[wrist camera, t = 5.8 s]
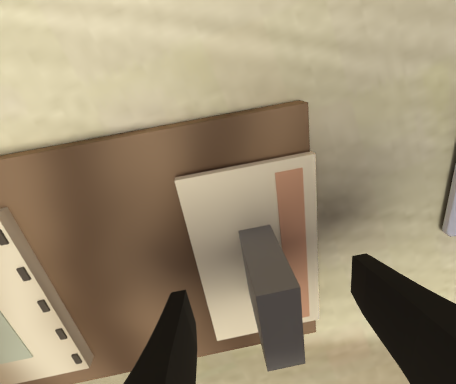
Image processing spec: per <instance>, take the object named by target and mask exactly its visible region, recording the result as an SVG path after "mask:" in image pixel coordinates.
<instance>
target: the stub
mask: <svg viewBox="0 0 456 384" xmlns="http://www.w3.org/2000/svg"><path fill="white" fill-rule="evenodd" d="M174 181H175V185H176V189H177V193H178V196H179V200H180V204H181V207H182V211H183V215H184V219H185V222H186V226H187V230H188V234H189V237H190V241H191V245H192V249H193V252H194V256H195V260H196V263H197V267H198V271H199V275H200V278H201V282H202V286H203V290H204V293H205V297H206V301H207V305H208V308H209V312H210V316H211V319H212V323H213V327H214V331H215V334H216V338H217V341H220V340H224V339H229V338H234V337H239V336H243V335H248V334H253V333H257V332H258V333H259V337H260V341H261V345H262V349H263V353H264V358H265V362H266V366H267V370H268V371H272V370H277V369H282V368H286V367H291V366H295V365H300V364H305V351H304V335H303V323H304V322H309V321H314V320H319V319H320V314H319V274H318V233H317V192H316V154H315V153H314V152H312V151H310V152H305V153H300V154H295V155H289V156H284V157H279V158H274V159H269V160H263V161H258V162H253V163H248V164H242V165H237V166H232V167H227V168H222V169H216V170H211V171H206V172H201V173H195V174H190V175H185V176H180V177H175V180H174Z"/></svg>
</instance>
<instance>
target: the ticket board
mask: <svg viewBox="0 0 456 384" xmlns="http://www.w3.org/2000/svg"><path fill="white" fill-rule="evenodd" d="M305 152H310V145H309V115H308V103H307V102H304V101H300V100H299V101H293V102H288V103H282V104H277V105H272V106H266V107H261V108H255V109H250V110H245V111H239V112H234V113H228V114H223V115H218V116H212V117H207V118H201V119H196V120H191V121H185V122H180V123H174V124H169V125H164V126H158V127H153V128H147V129H142V130H137V131H131V132H126V133H120V134H115V135H110V136H104V137H99V138H93V139H88V140H83V141H77V142H72V143H66V144H61V145H56V146H50V147H45V148H39V149H34V150H28V151H23V152H18V153H12V154H7V155H1V156H0V384H75V383H79V382H84V381H89V380H93V379H98V378H103V377H108V376H112V375H117V374H122V373H126V372H131V371H132V369H133V368H134V366H135V364H136V362H137V361H138V359H139V357H140V355H141V353H142V352H143V350H144V348H145V346H146V344H147V343H148V341H149V339H150V337H151V335H152V333H153V331H154V329H155V327H156V325H157V323H158V320H159V318H160V316H161V314H162V312H163V309H164V307H165V305H166V302H167V300H168V298H169V295H170V294H171V292H176V291H181V290H186V292H187V295H188V298H189V302H190V305H191V308H192V311H193V315H194V318H195V321H196V330H197V357H201V356H206V355H210V354H215V353H220V352H224V351H229V350H234V349H238V348H243V347H248V346H253V345H257V344H261V341H260V337H259V333H258V332H257V333H253V334H248V335H243V336H239V337H234V338H229V339H224V340H220V341H217V338H216V334H215V331H214V327H213V323H212V319H211V316H210V312H209V308H208V305H207V301H206V297H205V293H204V290H203V286H202V282H201V278H200V275H199V271H198V267H197V263H196V260H195V256H194V252H193V249H192V245H191V241H190V237H189V234H188V230H187V226H186V222H185V219H184V215H183V211H182V207H181V204H180V200H179V196H178V193H177V189H176V185H175V181H174V180H175V177H180V176H185V175H190V174H195V173H201V172H206V171H211V170H216V169H222V168H227V167H232V166H237V165H242V164H248V163H253V162H258V161H263V160H269V159H274V158H279V157H284V156H289V155H295V154H300V153H305ZM313 332H316V322H315V320H314V321H309V322H304V323H303V335H304V334H309V333H313Z"/></svg>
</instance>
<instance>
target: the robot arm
mask: <svg viewBox="0 0 456 384" xmlns="http://www.w3.org/2000/svg"><path fill="white" fill-rule="evenodd" d="M442 231H443V232H444V233H445V234H447V235H448V236H456V165H455V170H454V175H453V179H452V184H451V189H450V194H449V198H448V203H447V208H446V213H445V218H444V222H443V227H442ZM351 293H352V295H353V297H354V299H355V301H356V303H357V305H358V306H359V308H360V310H361V312H362V314H363V315H364V317H365V318H366V320H367V321H368V323H369V324H370V325H371V327H372V328H373V330H374V331H375V333H376V334H377V336H378V337H379V338H380V340H381V341H382V343H383V344H384V345H385V347H386V348H387V350H388V351H389V353H390V354H391V355H392V357H393V358H394V360H395V361H396V363H397V364H398V365H399V367H400V368H401V370H402V371H403V373H404V374H405V376H406V378H407V379H408V381H409V382H410V384H456V304H455V303H453V302H451V301H449V300H447V299H445V298H443V297H441V296H439V295H437V294H436V293H434V292H432V291H430V290H428V289H426V288H424V287H423V286H421V285H419V284H417V283H416V282H414V281H412V280H410V279H409V278H407V277H405V276H403V275H402V274H400V273H398V272H397V271H395V270H393V269H392V268H390V267H388V266H387V265H385V264H383V263H382V262H380V261H378V260H377V259H375V258H373V257H372V256H370V255H368V254H361V255H356V256H352V278H351ZM196 366H197V330H196V321H195V318H194V315H193V311H192V308H191V305H190V302H189V298H188V295H187V292H186V290H181V291H176V292H171V294H170V295H169V298H168V300H167V302H166V305H165V307H164V309H163V312H162V314H161V316H160V318H159V320H158V323H157V325H156V327H155V329H154V331H153V333H152V335H151V337H150V339H149V341H148V343H147V344H146V346H145V348H144V350H143V352H142V353H141V355H140V357H139V359H138V361H137V362H136V364H135V366H134V368H133V369H132V371H131V373H130V374H129V376H128V377H127V379H126V381H125V382H124V384H196Z"/></svg>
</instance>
